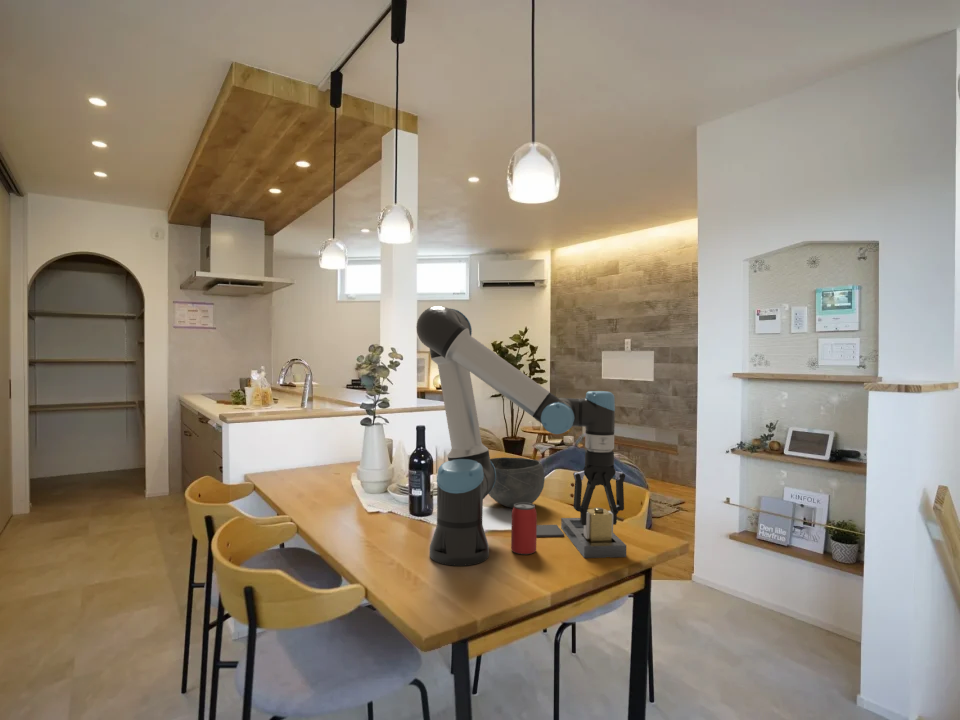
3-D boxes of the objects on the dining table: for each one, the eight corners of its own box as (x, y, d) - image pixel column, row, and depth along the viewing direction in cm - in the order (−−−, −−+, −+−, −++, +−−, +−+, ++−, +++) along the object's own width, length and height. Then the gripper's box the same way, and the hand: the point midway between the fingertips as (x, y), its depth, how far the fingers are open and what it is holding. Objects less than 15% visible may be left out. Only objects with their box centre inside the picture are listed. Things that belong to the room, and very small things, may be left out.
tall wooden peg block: (591, 553, 144) (591, 511, 144) (585, 546, 149) (585, 506, 149) (611, 552, 145) (611, 511, 145) (604, 545, 150) (605, 505, 150)
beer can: (505, 550, 146) (506, 504, 145) (523, 544, 150) (524, 500, 150) (523, 557, 140) (524, 510, 140) (541, 551, 145) (542, 506, 145)
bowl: (483, 496, 199) (483, 455, 199) (541, 498, 198) (542, 456, 198) (480, 513, 178) (481, 467, 178) (546, 515, 177) (547, 468, 177)
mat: (532, 537, 156) (532, 535, 156) (527, 527, 165) (527, 525, 165) (564, 536, 157) (564, 534, 157) (556, 526, 166) (556, 524, 166)
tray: (584, 558, 141) (584, 546, 141) (561, 528, 164) (561, 518, 164) (626, 557, 142) (626, 545, 142) (597, 527, 166) (597, 517, 165)
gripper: (568, 452, 142) (567, 542, 142) (639, 452, 144) (637, 540, 144) (561, 447, 150) (560, 532, 150) (628, 447, 151) (627, 531, 152)
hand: (598, 536), depth 147 cm, fingers open, 6 cm apart
